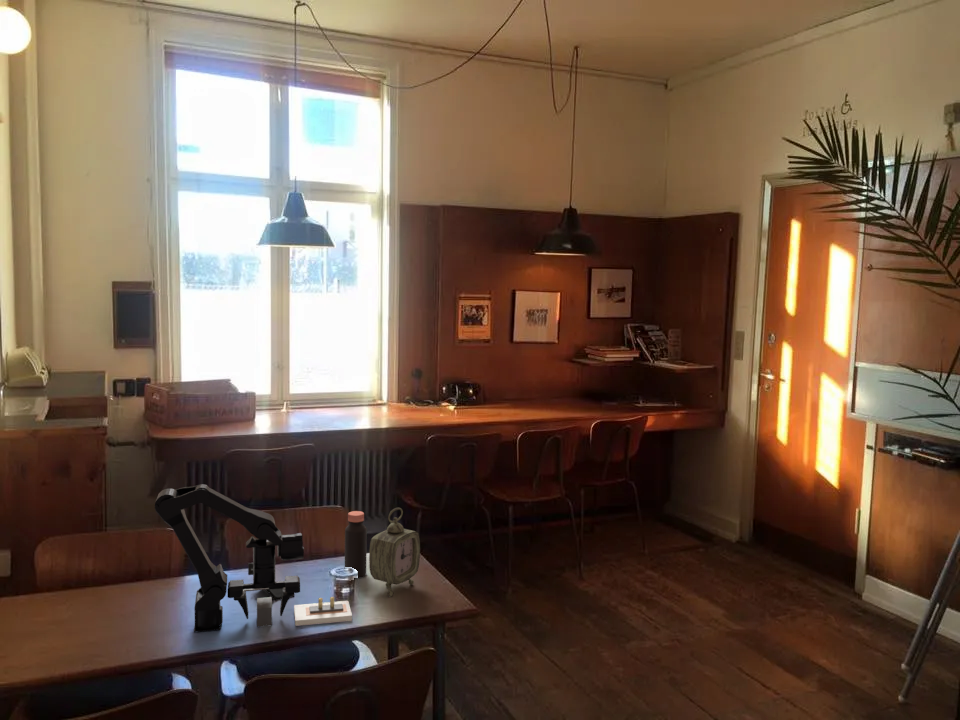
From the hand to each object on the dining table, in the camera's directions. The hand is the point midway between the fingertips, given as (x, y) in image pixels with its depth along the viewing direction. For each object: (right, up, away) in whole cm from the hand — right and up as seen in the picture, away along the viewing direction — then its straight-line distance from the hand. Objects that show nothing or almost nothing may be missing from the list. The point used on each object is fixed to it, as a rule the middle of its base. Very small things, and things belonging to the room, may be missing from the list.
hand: (264, 616), depth 209 cm
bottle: (+19, +2, +34) cm, 39 cm away
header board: (+15, -1, +4) cm, 16 cm away
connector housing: (0, -1, 0) cm, 1 cm away
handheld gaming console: (-3, 0, +19) cm, 19 cm away
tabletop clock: (+32, 0, +24) cm, 40 cm away
